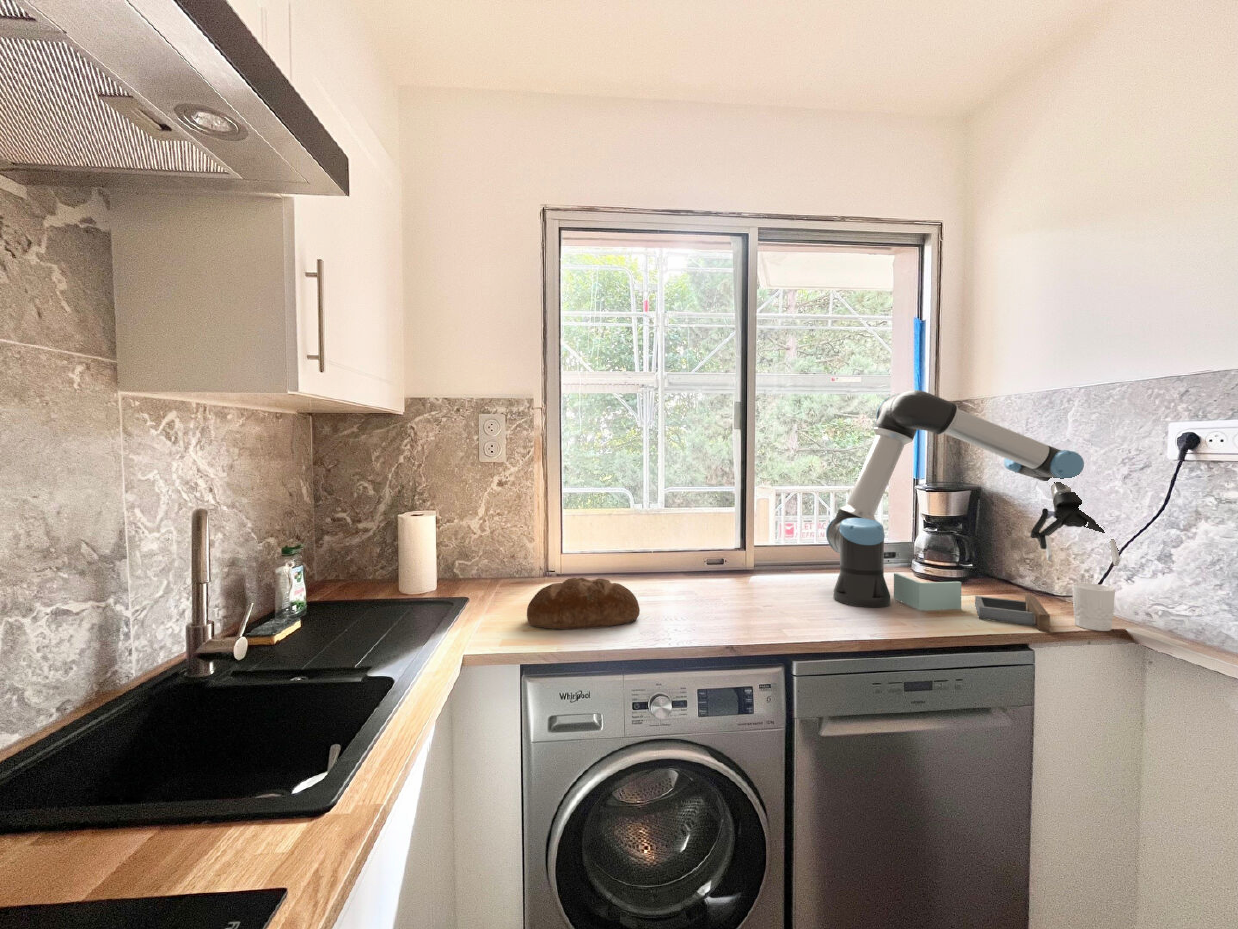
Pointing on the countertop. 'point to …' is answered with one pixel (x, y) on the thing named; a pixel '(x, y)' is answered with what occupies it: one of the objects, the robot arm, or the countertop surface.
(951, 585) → the right angle wall
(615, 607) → the bread
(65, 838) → the countertop surface
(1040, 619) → the brown drawer face panel
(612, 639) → the countertop surface
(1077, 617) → the white cup
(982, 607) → the gray square tray
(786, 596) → the countertop surface
